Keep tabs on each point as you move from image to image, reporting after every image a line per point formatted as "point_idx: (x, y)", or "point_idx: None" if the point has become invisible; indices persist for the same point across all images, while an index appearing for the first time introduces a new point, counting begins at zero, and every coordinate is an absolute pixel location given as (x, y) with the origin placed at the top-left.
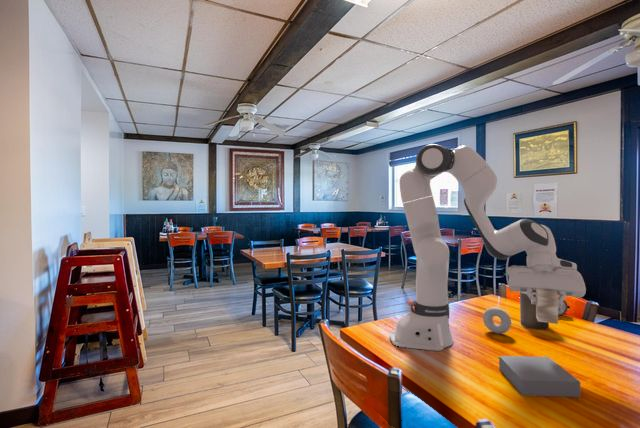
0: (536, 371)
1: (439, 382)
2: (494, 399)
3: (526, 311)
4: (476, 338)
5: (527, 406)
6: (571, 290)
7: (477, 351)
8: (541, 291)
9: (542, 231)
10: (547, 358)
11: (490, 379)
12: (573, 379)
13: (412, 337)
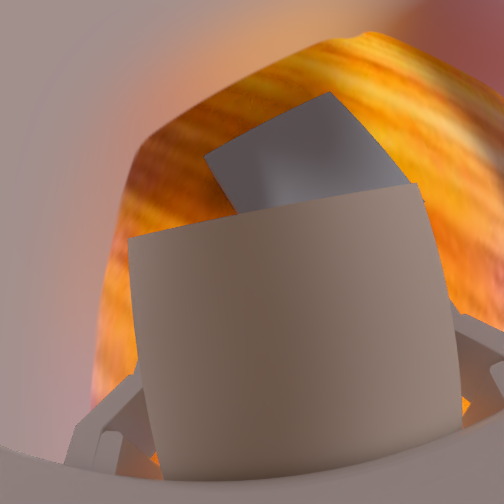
0: (309, 151)
1: (462, 94)
2: (365, 80)
3: None
4: None
5: (309, 85)
6: (3, 447)
7: (485, 308)
8: (380, 253)
9: None
10: None
11: (405, 148)
12: (217, 158)
13: None
